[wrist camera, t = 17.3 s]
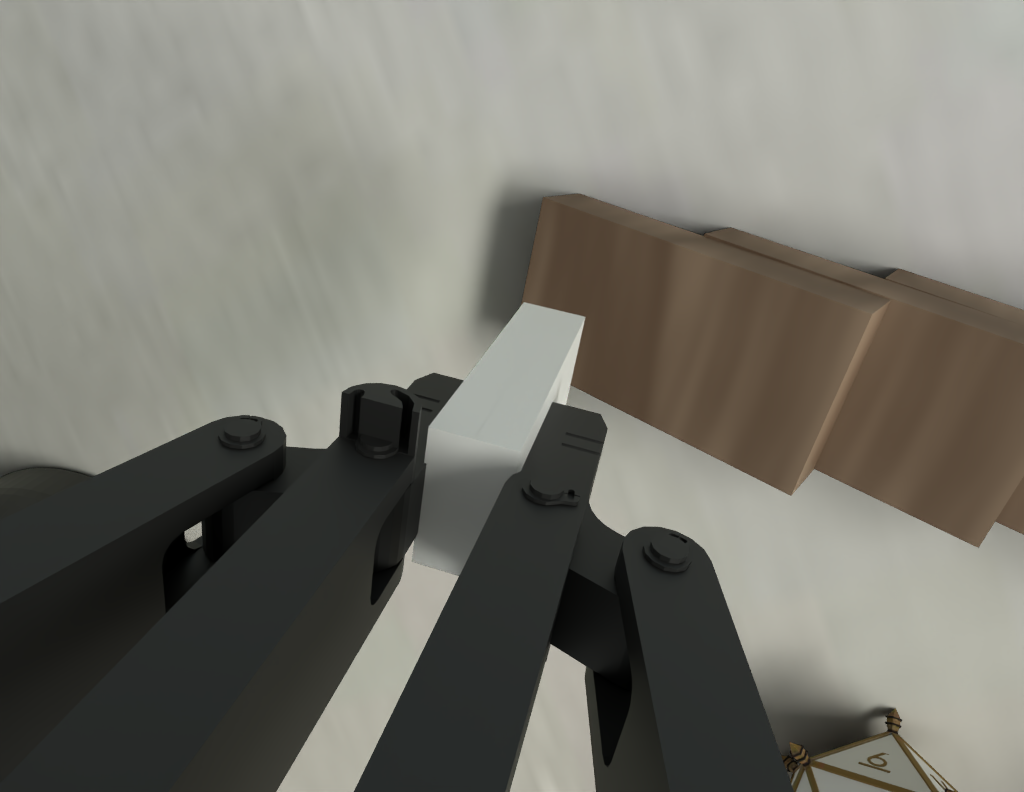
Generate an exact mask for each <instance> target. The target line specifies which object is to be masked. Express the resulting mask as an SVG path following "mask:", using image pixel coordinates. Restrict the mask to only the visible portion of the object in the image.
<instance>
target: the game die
mask: <svg viewBox="0 0 1024 792" xmlns="http://www.w3.org/2000/svg"><path fill="white" fill-rule="evenodd" d="M886 717H887V722H885V724H887V727H888V730H887V732H884V733H881V734H878V735H875V736H872V737H869V738H866V739H863V740H860V741H857V742H854V743H851V744H848V745H845V746H842V747H839V748H836V749H833V750H830V751H827V752H824V753H821V754H818V755H815V756H812V757H808V755H807V754H808V752H807V751H805V750H804V746H803V745H797V744H794V743H791V742H790V749H791V750H790V753H791V756H792V757H793V758H792V757H790V756H782V755H781V757H782V760H783V762H784V765H785V768H786V769H787V771H788V772H792V773H793V775H792V778H791V781H790V782H791V785H792V788H793V790H794V792H958V791H957V790H956V789H955V788H954V787H953V786H951V785H950V784H949V783H948V782H947V781H946V780H945V779H944V778H943V777H942V776H941V775H940V774H939V773H938V772H937V771H936V770H935V769H934V768H933V767H932V766H931V765H930V764H928V763H927V762H926V761H925V760H924V759H923V758H922V757H921V756H920V755H919V754H918V753H917V752H916V751H915V750H914V749H913V748H912V747H911V746H910V745H909V744H908V743H906V742H905V741H904V740H903V739H902V738H901V737H900V736H899V735H898V729H899V728H901V726H900V722H901V721H902V719H900V717H899V715H898V713H897V710H896V708H895V709H894V710H893V711H892V712H891V713H890V714H889V715H888V716H886ZM794 758H795V759H796V761H794ZM798 762H800V763H801V764H800V765H799V766H798V765H797V764H798Z"/></svg>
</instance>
